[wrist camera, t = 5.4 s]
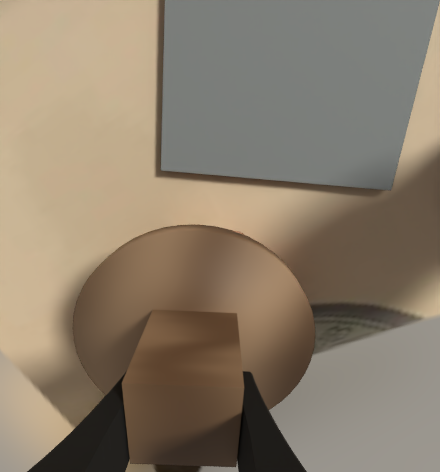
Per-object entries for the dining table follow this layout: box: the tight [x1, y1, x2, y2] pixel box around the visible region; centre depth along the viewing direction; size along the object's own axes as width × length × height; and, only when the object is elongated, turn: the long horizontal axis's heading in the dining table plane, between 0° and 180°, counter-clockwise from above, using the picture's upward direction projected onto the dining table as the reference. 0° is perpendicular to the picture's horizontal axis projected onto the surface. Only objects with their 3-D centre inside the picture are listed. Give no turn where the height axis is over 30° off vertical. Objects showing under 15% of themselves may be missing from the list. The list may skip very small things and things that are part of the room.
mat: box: [161, 0, 440, 190], centre depth 14 cm, size 14×14×1 cm
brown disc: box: [73, 225, 315, 467], centre depth 11 cm, size 12×12×5 cm
